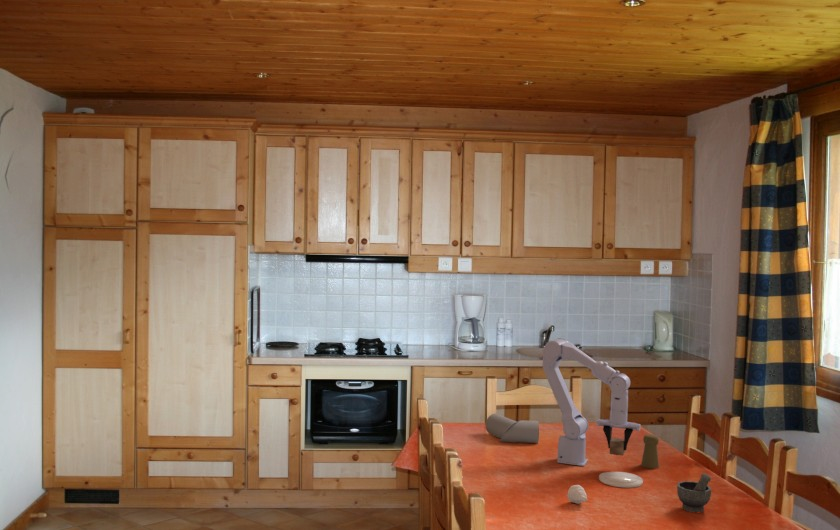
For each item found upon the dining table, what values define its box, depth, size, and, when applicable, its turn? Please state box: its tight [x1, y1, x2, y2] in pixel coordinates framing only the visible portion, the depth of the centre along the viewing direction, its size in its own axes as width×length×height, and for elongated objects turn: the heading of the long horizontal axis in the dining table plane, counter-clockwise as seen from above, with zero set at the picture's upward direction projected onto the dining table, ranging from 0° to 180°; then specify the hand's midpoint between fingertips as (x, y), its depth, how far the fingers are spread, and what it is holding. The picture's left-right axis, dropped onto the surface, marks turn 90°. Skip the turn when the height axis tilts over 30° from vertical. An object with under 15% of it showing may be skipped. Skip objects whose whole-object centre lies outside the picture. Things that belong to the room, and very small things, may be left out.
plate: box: [598, 471, 644, 489], centre depth 256 cm, size 14×14×1 cm
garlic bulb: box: [567, 484, 588, 505], centre depth 232 cm, size 6×6×5 cm
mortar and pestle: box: [676, 473, 712, 513], centre depth 230 cm, size 11×9×12 cm
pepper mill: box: [641, 433, 660, 470], centre depth 273 cm, size 6×6×11 cm
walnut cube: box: [609, 437, 626, 457], centre depth 268 cm, size 4×4×4 cm
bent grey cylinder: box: [485, 413, 540, 444], centre depth 305 cm, size 18×11×20 cm
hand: (617, 448), depth 268 cm, fingers closed on walnut cube, 4 cm apart
